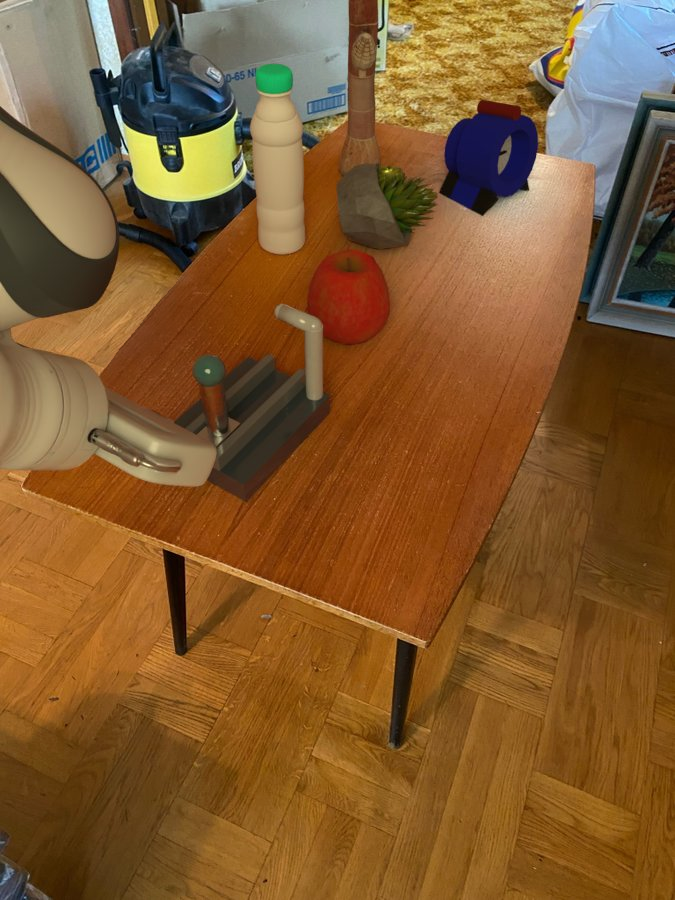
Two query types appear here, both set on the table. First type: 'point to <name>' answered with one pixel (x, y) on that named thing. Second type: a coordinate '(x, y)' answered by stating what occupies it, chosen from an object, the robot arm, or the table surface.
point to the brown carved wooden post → (361, 87)
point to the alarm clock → (489, 156)
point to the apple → (349, 297)
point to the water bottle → (278, 162)
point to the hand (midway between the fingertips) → (160, 423)
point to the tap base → (267, 411)
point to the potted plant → (381, 205)
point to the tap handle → (213, 399)
